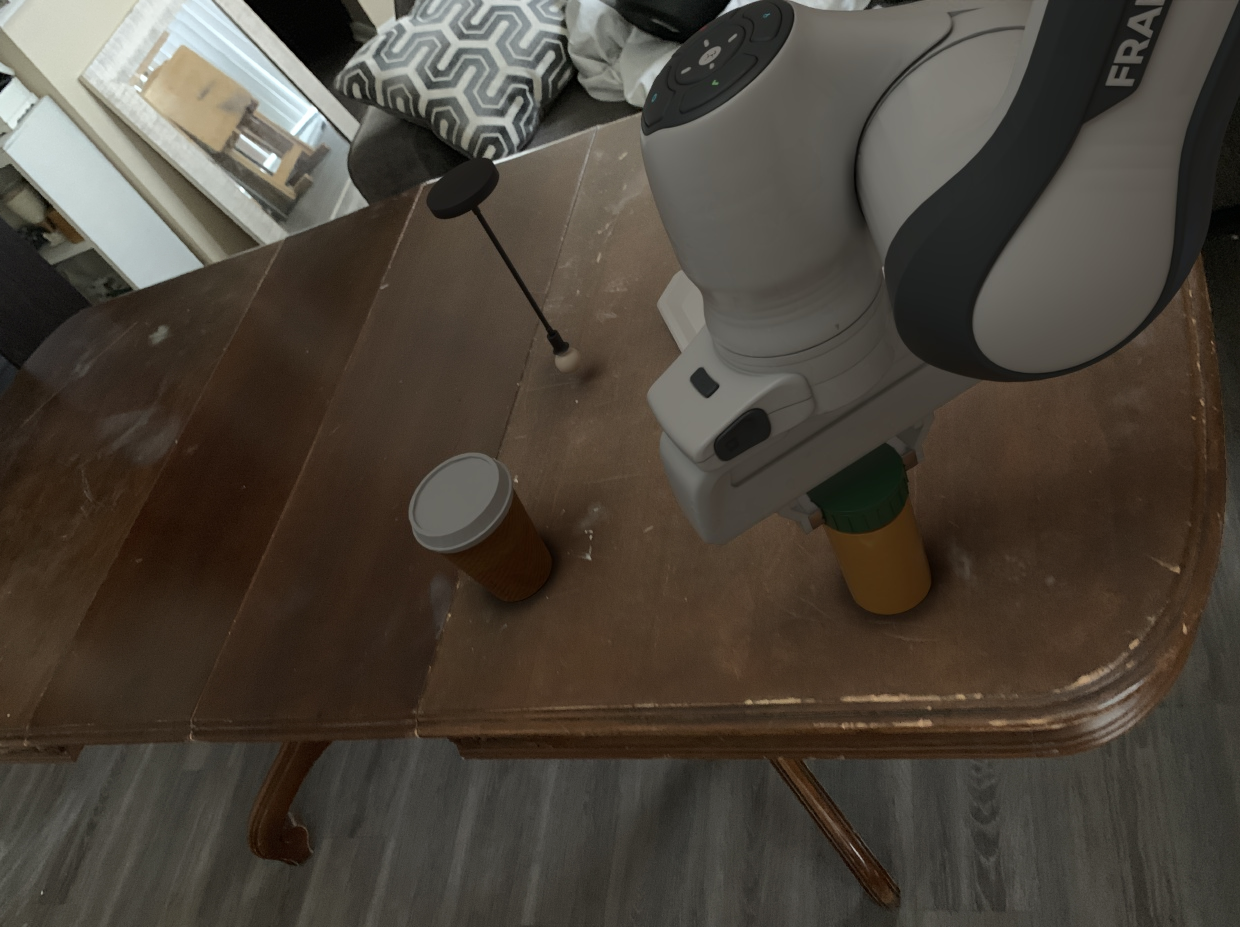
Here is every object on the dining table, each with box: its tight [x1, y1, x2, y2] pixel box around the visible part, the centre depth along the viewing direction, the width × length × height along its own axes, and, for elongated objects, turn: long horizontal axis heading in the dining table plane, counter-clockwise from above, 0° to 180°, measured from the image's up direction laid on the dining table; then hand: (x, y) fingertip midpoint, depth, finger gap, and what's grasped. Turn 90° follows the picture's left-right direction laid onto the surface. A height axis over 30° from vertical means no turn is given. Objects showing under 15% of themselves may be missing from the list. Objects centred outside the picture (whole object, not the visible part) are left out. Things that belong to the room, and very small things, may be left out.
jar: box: [821, 493, 932, 616], centre depth 60 cm, size 6×6×12 cm
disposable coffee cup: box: [408, 452, 553, 603], centre depth 77 cm, size 10×10×12 cm
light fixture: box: [425, 157, 582, 375], centre depth 85 cm, size 7×7×25 cm
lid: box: [807, 443, 910, 533], centre depth 56 cm, size 6×6×2 cm
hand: (857, 492), depth 57 cm, fingers closed on lid, 6 cm apart
